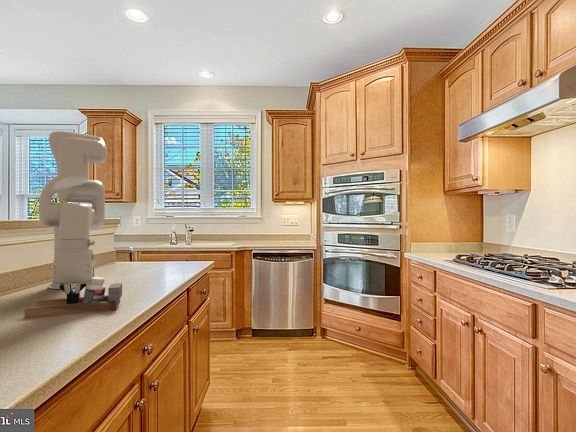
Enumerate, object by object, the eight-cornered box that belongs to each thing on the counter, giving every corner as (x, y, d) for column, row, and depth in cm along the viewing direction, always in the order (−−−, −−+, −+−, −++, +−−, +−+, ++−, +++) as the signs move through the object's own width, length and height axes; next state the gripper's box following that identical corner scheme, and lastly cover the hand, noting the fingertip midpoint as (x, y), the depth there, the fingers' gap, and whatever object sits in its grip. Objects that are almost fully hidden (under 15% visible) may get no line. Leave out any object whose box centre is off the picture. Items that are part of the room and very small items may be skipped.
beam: (38, 307, 94) (38, 286, 94) (122, 301, 102) (122, 281, 102) (24, 317, 85) (24, 294, 85) (118, 310, 93) (118, 288, 93)
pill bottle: (91, 310, 92) (96, 280, 92) (77, 307, 93) (82, 277, 93) (106, 307, 97) (111, 278, 97) (92, 303, 98) (97, 275, 99)
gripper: (105, 243, 99) (103, 300, 99) (48, 244, 94) (47, 305, 94) (100, 245, 93) (99, 307, 92) (39, 246, 87) (37, 312, 87)
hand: (73, 305), depth 93 cm, fingers closed
